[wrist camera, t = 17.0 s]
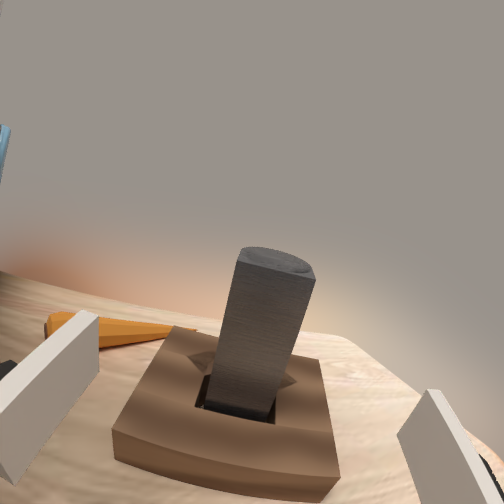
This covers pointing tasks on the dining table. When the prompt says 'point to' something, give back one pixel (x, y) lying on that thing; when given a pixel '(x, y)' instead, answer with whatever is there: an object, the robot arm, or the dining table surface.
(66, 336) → the robot arm
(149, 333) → the carrot
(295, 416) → the socket block
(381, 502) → the dining table surface
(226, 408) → the d peg
